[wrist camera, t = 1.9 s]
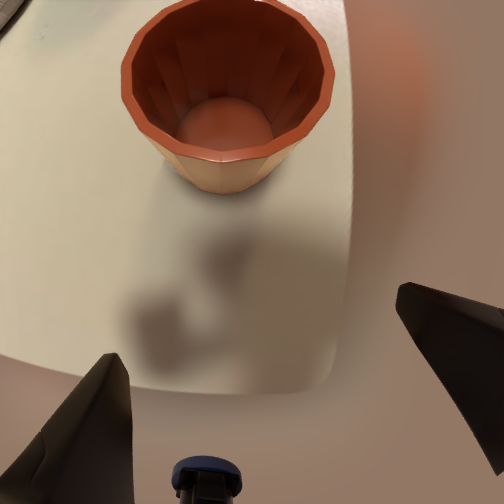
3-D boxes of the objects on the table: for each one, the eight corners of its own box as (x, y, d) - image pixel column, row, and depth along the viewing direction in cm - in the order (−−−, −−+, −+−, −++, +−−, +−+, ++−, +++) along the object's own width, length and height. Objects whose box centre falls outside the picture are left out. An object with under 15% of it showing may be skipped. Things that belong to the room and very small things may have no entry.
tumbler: (264, 204, 20) (313, 187, 9) (159, 181, 19) (91, 141, 8) (286, 109, 19) (343, 19, 8) (188, 87, 18) (164, -17, 7)
